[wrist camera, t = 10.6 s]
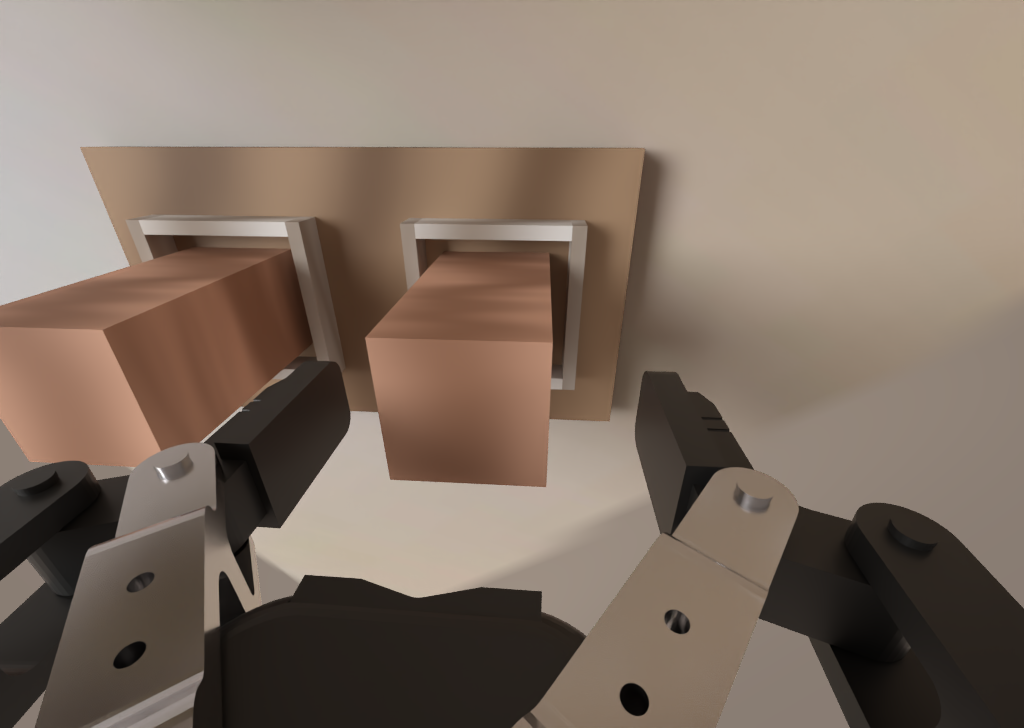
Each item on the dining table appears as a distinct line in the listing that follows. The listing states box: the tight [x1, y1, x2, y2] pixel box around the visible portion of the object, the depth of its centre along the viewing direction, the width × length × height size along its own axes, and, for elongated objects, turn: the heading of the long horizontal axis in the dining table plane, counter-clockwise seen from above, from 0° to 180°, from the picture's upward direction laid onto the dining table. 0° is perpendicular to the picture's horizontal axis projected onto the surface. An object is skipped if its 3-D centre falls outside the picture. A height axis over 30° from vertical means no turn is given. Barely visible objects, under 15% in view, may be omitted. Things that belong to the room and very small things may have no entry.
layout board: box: [0, 147, 645, 467], centre depth 14 cm, size 20×11×9 cm, turn 90°
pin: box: [365, 251, 553, 487], centre depth 13 cm, size 4×4×8 cm
